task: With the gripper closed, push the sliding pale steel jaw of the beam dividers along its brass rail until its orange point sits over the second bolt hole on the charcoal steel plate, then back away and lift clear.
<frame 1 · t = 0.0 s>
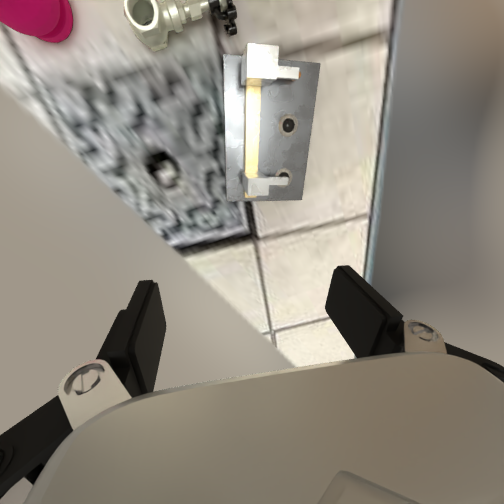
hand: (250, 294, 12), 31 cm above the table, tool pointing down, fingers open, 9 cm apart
magenta bowling pin: (43, 8, 26), on the table
valve: (183, 25, 29), on the table
bolt plate: (266, 138, 37), on the table
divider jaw: (274, 70, 29), point 5 cm above the table, slide at -6.0 cm
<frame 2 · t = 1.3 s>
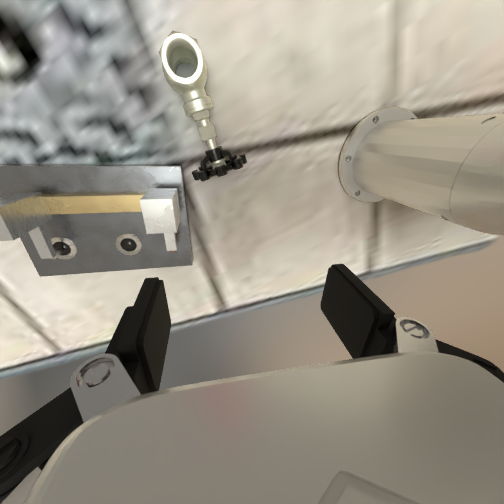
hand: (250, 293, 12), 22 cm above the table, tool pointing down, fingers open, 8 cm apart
valve: (201, 116, 27), on the table
bolt plate: (110, 220, 30), on the table
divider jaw: (167, 226, 26), point 5 cm above the table, slide at -6.0 cm
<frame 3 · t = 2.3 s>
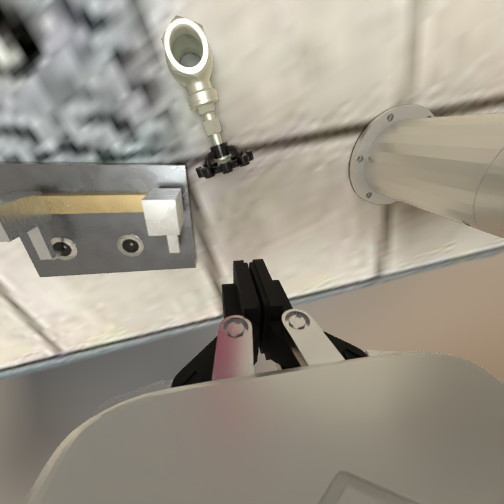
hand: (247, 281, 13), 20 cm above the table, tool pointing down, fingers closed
valve: (206, 111, 25), on the table
bolt plate: (112, 220, 29), on the table
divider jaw: (169, 228, 25), point 5 cm above the table, slide at -6.0 cm
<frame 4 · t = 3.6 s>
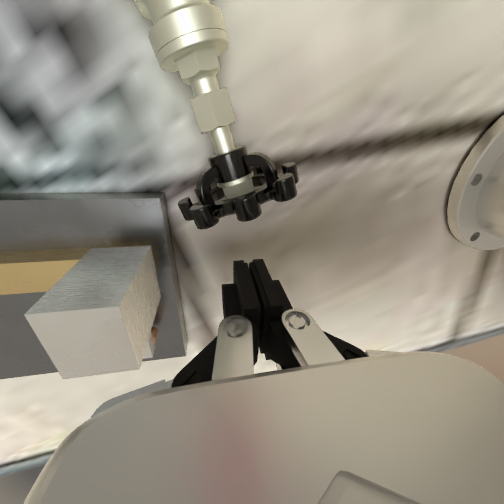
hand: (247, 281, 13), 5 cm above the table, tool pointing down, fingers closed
valve: (200, 82, 12), on the table
bolt plate: (33, 291, 16), on the table
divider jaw: (128, 326, 12), point 5 cm above the table, slide at -6.0 cm
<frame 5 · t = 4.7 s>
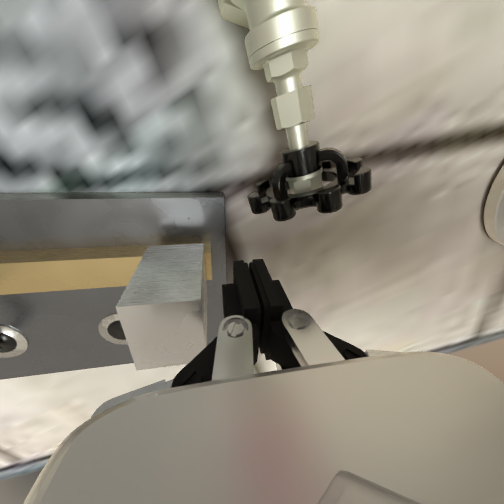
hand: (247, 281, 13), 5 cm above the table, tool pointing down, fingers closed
valve: (266, 80, 13), on the table
bolt plate: (90, 287, 17), on the table
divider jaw: (181, 321, 13), point 5 cm above the table, slide at -5.1 cm, touching gripper
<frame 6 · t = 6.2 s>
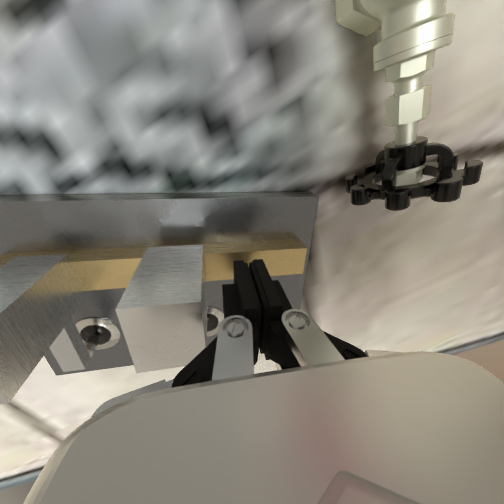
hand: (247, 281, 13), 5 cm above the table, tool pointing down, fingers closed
valve: (363, 80, 14), on the table
bolt plate: (177, 282, 17), on the table
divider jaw: (181, 323, 13), point 5 cm above the table, slide at 1.2 cm, touching gripper
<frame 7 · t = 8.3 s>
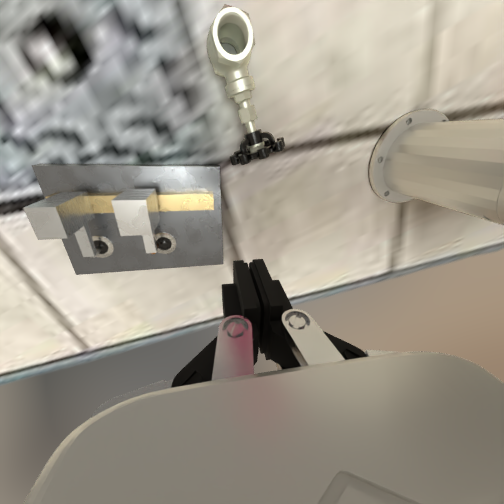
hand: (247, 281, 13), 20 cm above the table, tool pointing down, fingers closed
valve: (237, 100, 26), on the table
bolt plate: (146, 219, 30), on the table
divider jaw: (144, 228, 25), point 5 cm above the table, slide at 1.0 cm
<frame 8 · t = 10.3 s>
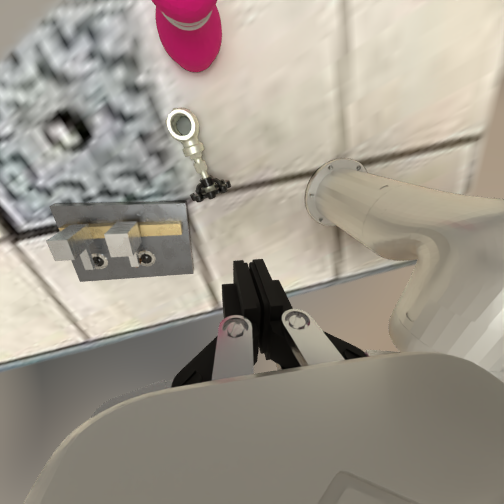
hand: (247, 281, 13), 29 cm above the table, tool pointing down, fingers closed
magenta bowling pin: (192, 43, 29), on the table
valve: (196, 153, 36), on the table
bolt plate: (133, 240, 40), on the table
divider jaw: (129, 249, 35), point 5 cm above the table, slide at 1.0 cm
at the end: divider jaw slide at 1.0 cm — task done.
